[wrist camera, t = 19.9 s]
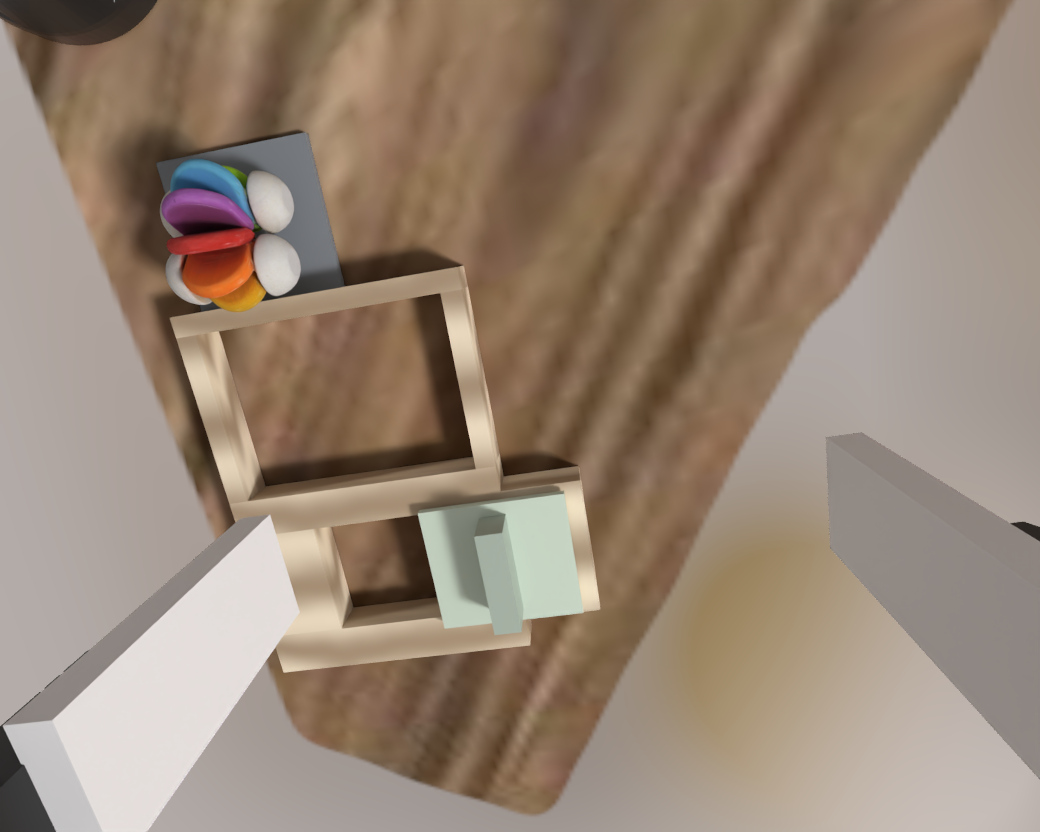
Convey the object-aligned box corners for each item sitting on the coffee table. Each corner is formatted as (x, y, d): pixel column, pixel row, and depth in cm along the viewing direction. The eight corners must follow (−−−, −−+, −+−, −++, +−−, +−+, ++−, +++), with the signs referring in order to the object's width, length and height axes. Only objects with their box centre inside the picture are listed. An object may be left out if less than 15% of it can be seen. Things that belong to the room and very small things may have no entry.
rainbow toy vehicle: (197, 325, 43) (118, 301, 35) (185, 191, 43) (105, 141, 36) (312, 308, 42) (255, 280, 34) (298, 172, 42) (239, 117, 35)
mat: (161, 163, 43) (155, 162, 42) (308, 134, 42) (304, 132, 41) (208, 317, 46) (203, 318, 45) (346, 293, 45) (343, 293, 44)
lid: (419, 510, 45) (408, 531, 42) (563, 490, 44) (564, 511, 41) (445, 624, 48) (437, 653, 45) (582, 608, 47) (585, 637, 44)
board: (193, 313, 46) (169, 317, 43) (545, 251, 43) (545, 251, 40) (298, 649, 54) (283, 672, 51) (601, 614, 51) (604, 636, 48)
